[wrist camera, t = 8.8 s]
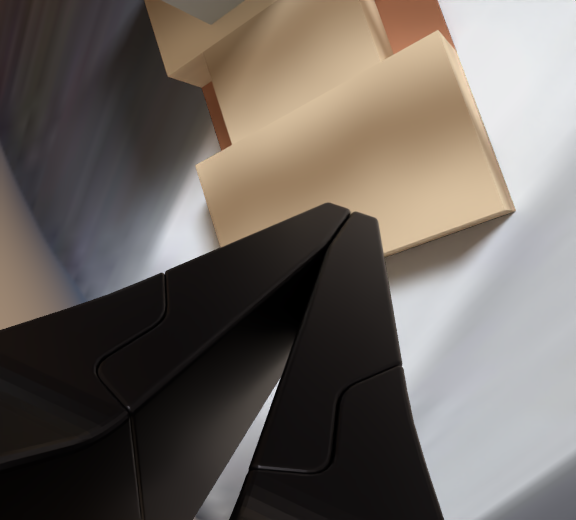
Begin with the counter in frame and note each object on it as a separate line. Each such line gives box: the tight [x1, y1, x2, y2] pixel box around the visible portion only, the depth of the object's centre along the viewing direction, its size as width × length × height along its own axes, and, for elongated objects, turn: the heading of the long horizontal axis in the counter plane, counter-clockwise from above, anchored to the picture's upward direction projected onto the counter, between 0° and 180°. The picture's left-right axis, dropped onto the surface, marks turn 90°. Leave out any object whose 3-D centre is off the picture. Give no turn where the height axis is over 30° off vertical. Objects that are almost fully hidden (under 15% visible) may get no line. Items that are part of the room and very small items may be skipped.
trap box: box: [144, 0, 516, 257], centre depth 18 cm, size 17×10×8 cm, turn 20°
